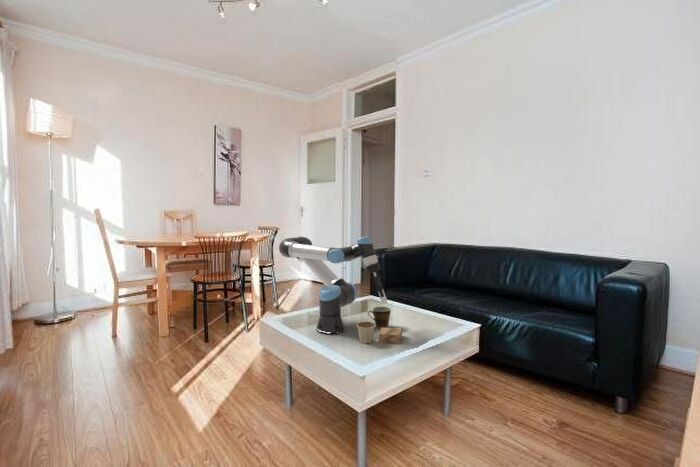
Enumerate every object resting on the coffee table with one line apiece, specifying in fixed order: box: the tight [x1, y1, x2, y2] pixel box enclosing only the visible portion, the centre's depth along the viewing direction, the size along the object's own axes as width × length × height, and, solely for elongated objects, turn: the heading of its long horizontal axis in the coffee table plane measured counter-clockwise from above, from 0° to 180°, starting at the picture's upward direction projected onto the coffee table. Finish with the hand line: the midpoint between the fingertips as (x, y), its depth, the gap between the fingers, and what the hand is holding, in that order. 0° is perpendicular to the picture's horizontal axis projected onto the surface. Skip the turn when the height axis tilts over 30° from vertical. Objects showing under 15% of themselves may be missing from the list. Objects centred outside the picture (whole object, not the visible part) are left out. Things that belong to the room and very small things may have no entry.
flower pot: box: [356, 321, 376, 345], centre depth 177 cm, size 9×9×9 cm
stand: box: [378, 327, 403, 344], centre depth 180 cm, size 11×11×4 cm
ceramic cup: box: [367, 306, 392, 329], centre depth 199 cm, size 13×10×10 cm
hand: (384, 302), depth 191 cm, fingers open, 13 cm apart
